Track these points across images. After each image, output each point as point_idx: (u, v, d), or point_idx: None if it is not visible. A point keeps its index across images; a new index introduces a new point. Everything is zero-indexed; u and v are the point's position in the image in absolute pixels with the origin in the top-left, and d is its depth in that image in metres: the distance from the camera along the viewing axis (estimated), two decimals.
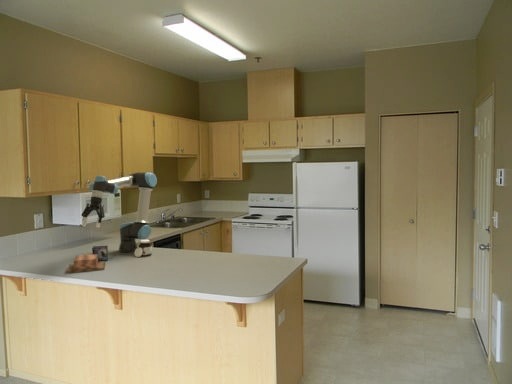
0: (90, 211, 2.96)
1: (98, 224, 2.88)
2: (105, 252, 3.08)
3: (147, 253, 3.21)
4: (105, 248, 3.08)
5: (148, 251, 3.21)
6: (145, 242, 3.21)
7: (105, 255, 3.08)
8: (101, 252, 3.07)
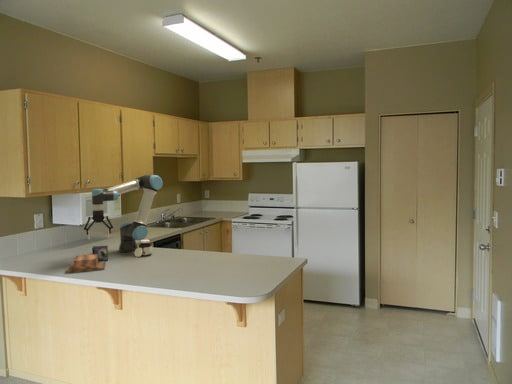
0: None
1: None
2: (105, 252, 3.08)
3: (147, 253, 3.21)
4: (105, 248, 3.08)
5: (148, 251, 3.21)
6: (145, 242, 3.21)
7: (105, 255, 3.08)
8: (101, 252, 3.07)
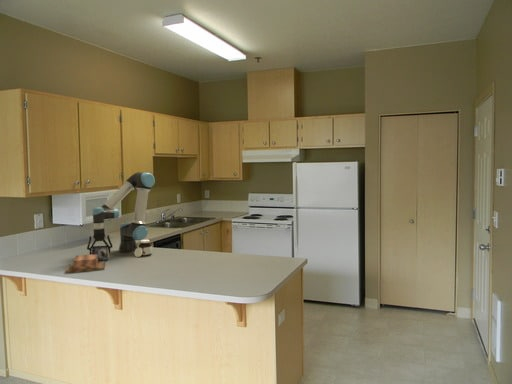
0: None
1: (108, 254, 3.12)
2: (105, 252, 3.08)
3: (147, 253, 3.21)
4: (105, 248, 3.08)
5: (148, 251, 3.21)
6: (145, 242, 3.21)
7: (105, 255, 3.08)
8: (101, 252, 3.07)
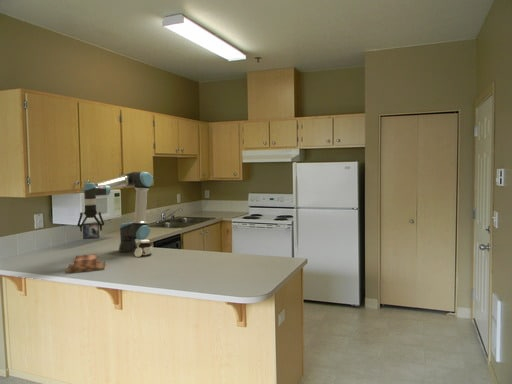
0: None
1: None
2: (96, 229, 2.95)
3: (147, 253, 3.21)
4: (96, 225, 2.95)
5: (148, 251, 3.21)
6: (145, 242, 3.21)
7: (96, 232, 2.95)
8: (92, 229, 2.94)
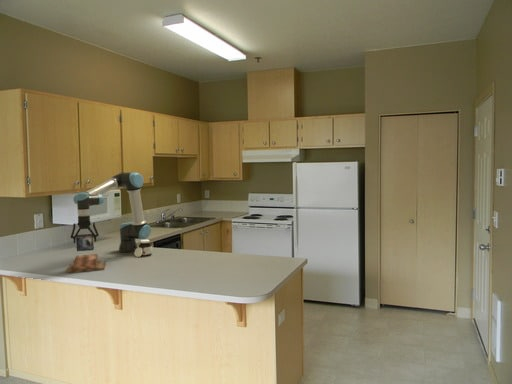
0: (79, 230, 2.86)
1: (94, 243, 2.89)
2: (90, 241, 2.85)
3: (147, 253, 3.21)
4: (90, 236, 2.85)
5: (148, 251, 3.21)
6: (145, 242, 3.21)
7: (90, 244, 2.86)
8: (86, 241, 2.85)
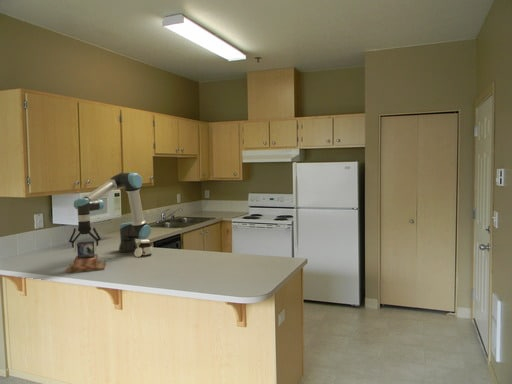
0: None
1: (96, 247, 2.90)
2: (91, 248, 2.86)
3: (147, 253, 3.21)
4: (91, 244, 2.86)
5: (148, 251, 3.21)
6: (145, 242, 3.21)
7: (91, 251, 2.86)
8: (86, 248, 2.85)
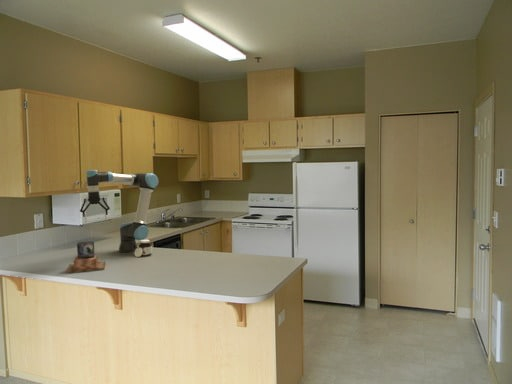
0: (89, 205, 3.02)
1: None
2: (91, 248, 2.86)
3: (147, 253, 3.21)
4: (91, 244, 2.86)
5: (148, 251, 3.21)
6: (145, 242, 3.21)
7: (91, 251, 2.86)
8: (86, 248, 2.85)
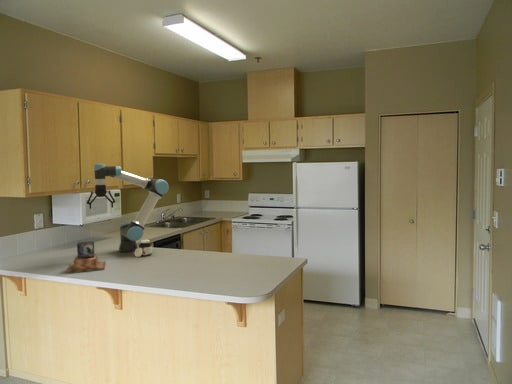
0: (95, 198, 3.14)
1: (111, 209, 3.18)
2: (91, 248, 2.86)
3: (147, 253, 3.21)
4: (91, 244, 2.86)
5: (148, 251, 3.21)
6: (145, 242, 3.21)
7: (91, 251, 2.86)
8: (86, 248, 2.85)
